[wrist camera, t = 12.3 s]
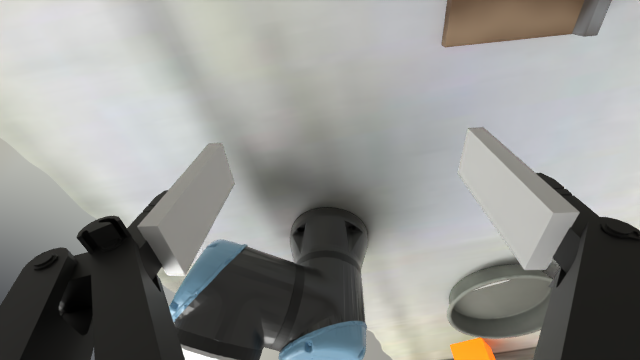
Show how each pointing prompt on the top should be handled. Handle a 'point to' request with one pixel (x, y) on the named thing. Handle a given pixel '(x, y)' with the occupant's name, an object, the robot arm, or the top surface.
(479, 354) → the orange juice
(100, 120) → the top surface
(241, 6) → the top surface
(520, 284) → the cake pan
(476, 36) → the shelf board
